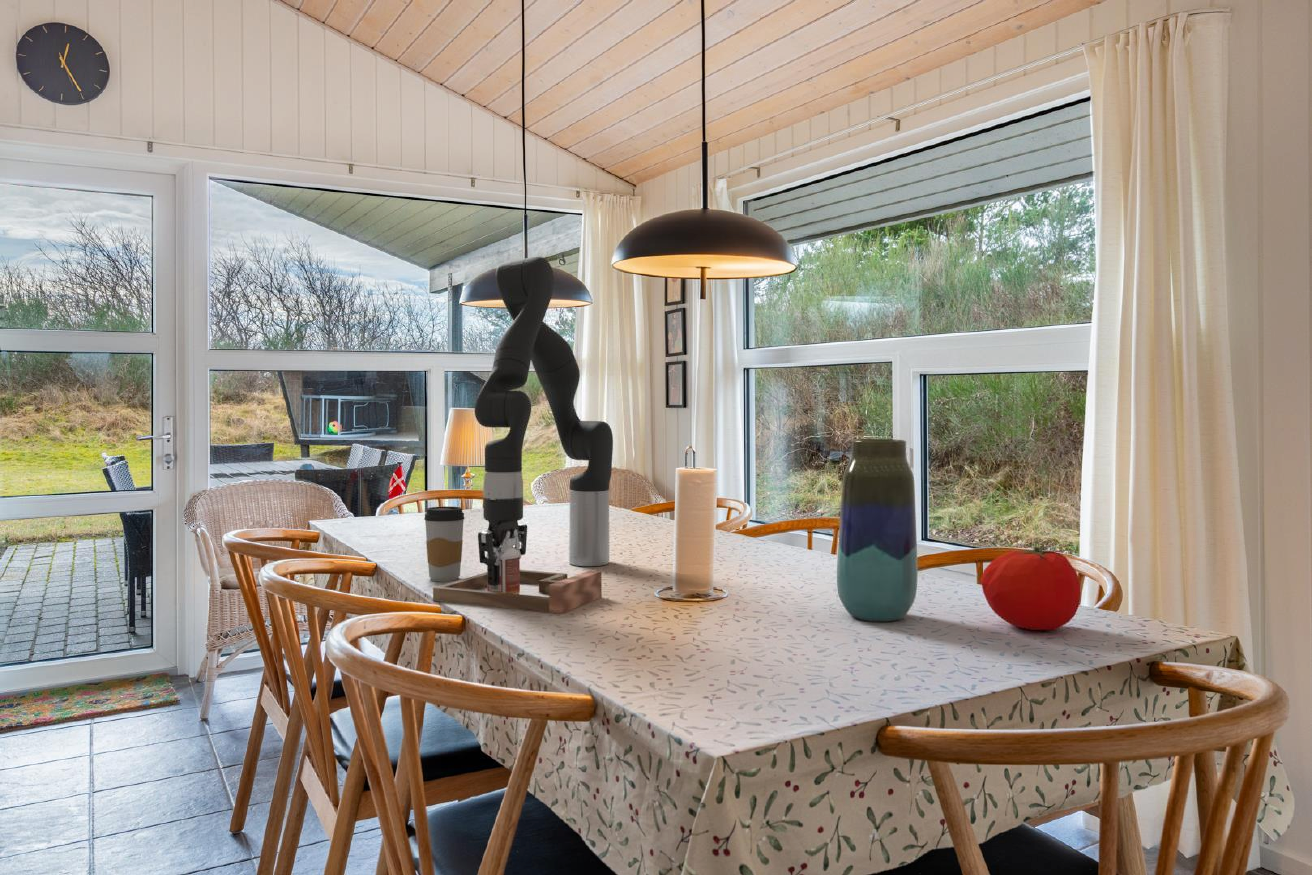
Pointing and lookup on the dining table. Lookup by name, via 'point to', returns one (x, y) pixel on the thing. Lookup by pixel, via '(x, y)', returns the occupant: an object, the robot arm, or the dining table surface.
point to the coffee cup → (444, 542)
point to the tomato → (1032, 588)
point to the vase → (877, 532)
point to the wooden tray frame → (557, 585)
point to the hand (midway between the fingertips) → (503, 581)
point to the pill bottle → (508, 570)
